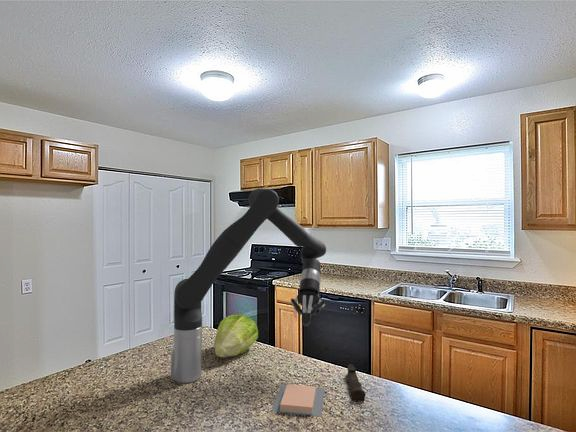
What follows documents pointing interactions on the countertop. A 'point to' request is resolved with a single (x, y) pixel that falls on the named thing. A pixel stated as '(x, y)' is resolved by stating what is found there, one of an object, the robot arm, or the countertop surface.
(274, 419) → the countertop surface
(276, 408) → the mat
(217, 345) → the lettuce
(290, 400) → the tile
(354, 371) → the hand tool
